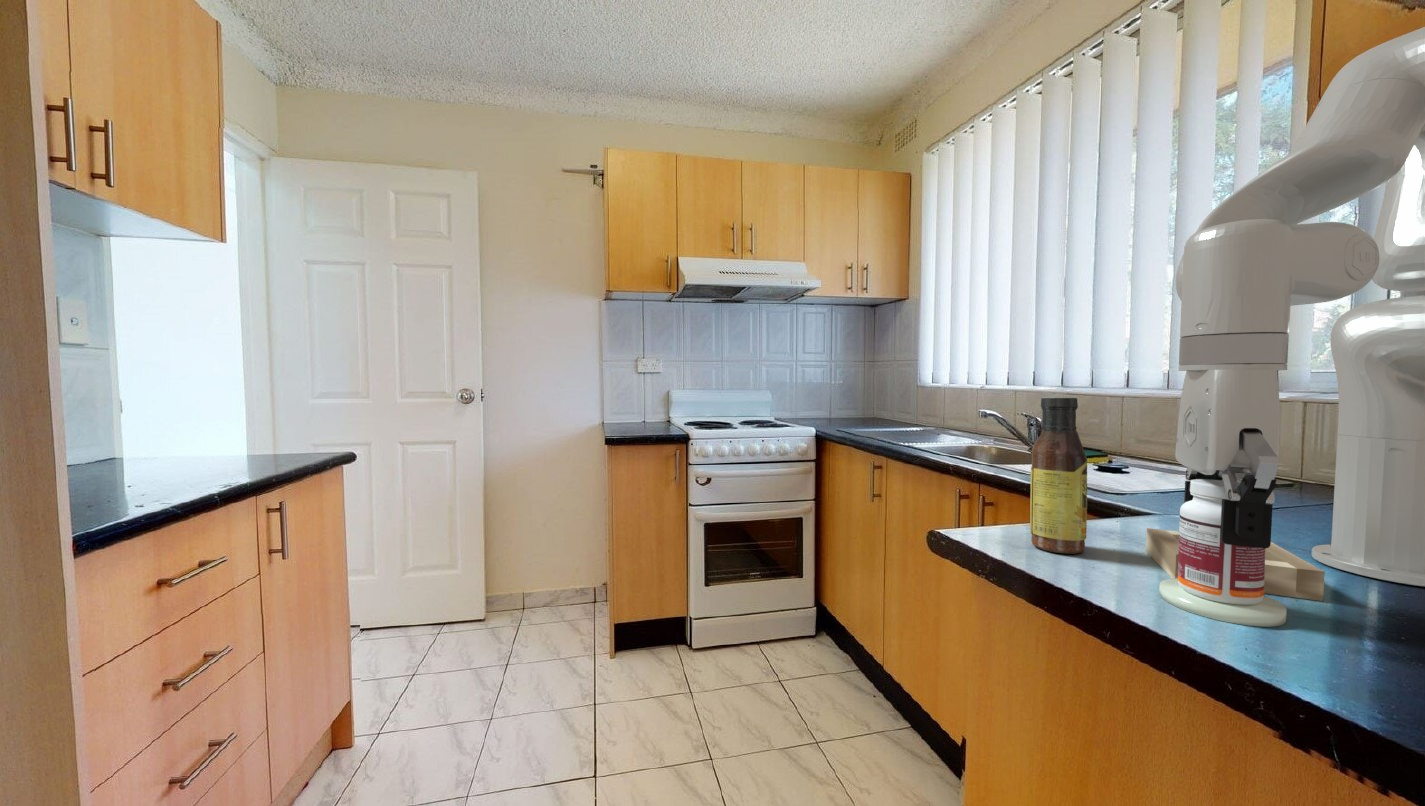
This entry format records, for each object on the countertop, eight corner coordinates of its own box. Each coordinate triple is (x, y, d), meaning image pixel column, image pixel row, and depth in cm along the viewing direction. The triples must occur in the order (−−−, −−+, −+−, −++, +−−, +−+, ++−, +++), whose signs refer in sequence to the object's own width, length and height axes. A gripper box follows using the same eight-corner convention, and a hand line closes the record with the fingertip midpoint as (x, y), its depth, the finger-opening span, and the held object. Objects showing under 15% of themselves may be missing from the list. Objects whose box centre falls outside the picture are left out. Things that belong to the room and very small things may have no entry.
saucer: (1259, 597, 55) (1260, 587, 54) (1307, 634, 46) (1308, 623, 46) (1148, 582, 59) (1148, 573, 59) (1175, 614, 51) (1175, 603, 50)
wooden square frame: (1267, 565, 64) (1268, 540, 64) (1323, 601, 54) (1324, 571, 54) (1145, 551, 69) (1146, 528, 69) (1174, 581, 59) (1176, 554, 59)
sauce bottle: (1095, 557, 67) (1101, 398, 66) (1040, 554, 68) (1045, 397, 67) (1071, 542, 73) (1076, 396, 72) (1021, 539, 74) (1025, 395, 73)
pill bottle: (1251, 590, 54) (1256, 481, 53) (1274, 613, 48) (1280, 492, 48) (1170, 578, 57) (1175, 475, 57) (1184, 598, 52) (1189, 484, 51)
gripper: (1155, 359, 61) (1149, 508, 62) (1214, 352, 45) (1205, 551, 46) (1243, 358, 58) (1236, 516, 58) (1340, 350, 42) (1328, 565, 43)
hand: (1222, 531), depth 52 cm, fingers open, 9 cm apart
